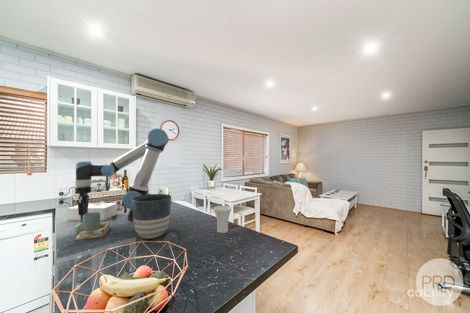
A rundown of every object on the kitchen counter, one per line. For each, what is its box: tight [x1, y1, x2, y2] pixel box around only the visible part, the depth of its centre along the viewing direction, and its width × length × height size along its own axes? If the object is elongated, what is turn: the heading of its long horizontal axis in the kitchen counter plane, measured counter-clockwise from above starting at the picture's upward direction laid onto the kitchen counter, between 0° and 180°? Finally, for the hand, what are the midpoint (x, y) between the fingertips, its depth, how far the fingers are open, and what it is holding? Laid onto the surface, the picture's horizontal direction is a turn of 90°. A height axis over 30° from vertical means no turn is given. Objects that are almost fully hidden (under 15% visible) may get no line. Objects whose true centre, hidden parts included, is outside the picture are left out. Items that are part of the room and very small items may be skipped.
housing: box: [74, 221, 111, 241], centre depth 109 cm, size 13×14×4 cm
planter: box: [132, 193, 172, 240], centre depth 105 cm, size 20×20×21 cm
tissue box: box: [67, 200, 118, 221], centre depth 140 cm, size 14×25×11 cm, turn 90°
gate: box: [73, 219, 83, 237], centre depth 111 cm, size 1×12×6 cm, turn 23°
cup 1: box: [83, 212, 101, 232], centre depth 109 cm, size 8×8×10 cm
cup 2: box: [213, 205, 232, 234], centre depth 113 cm, size 10×10×14 cm
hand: (83, 224), depth 118 cm, fingers closed
